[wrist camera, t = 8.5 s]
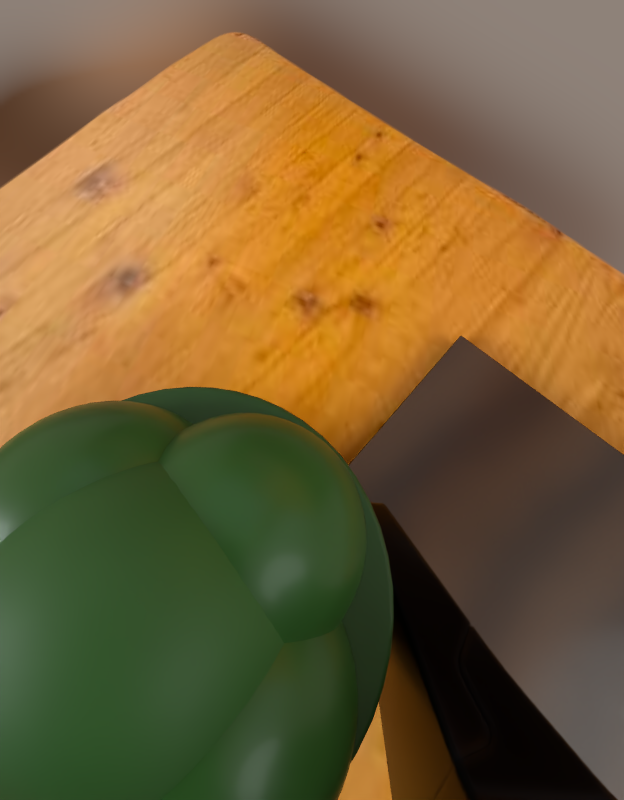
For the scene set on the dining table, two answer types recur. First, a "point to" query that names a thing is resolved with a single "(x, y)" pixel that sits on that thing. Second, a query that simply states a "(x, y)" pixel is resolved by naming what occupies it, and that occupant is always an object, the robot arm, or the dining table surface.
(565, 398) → the dining table surface
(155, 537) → the broccoli
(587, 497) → the board
